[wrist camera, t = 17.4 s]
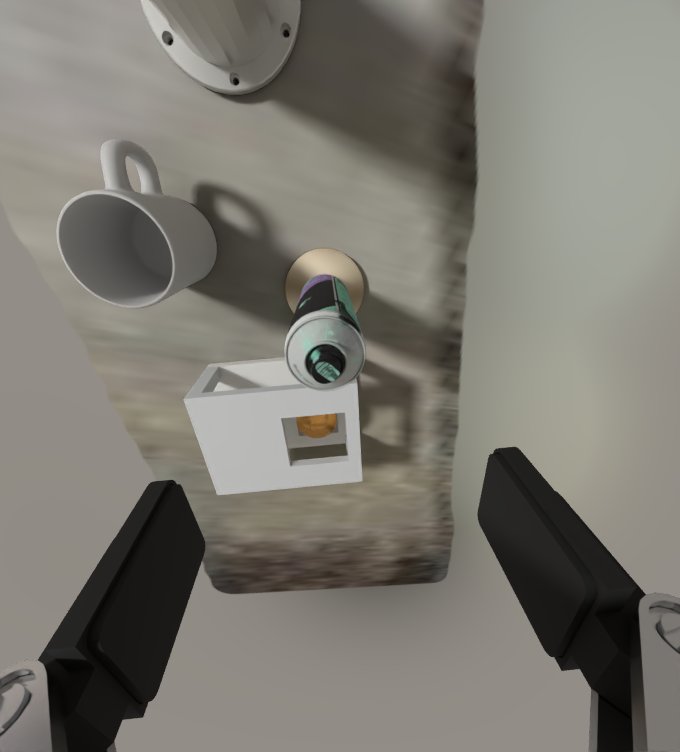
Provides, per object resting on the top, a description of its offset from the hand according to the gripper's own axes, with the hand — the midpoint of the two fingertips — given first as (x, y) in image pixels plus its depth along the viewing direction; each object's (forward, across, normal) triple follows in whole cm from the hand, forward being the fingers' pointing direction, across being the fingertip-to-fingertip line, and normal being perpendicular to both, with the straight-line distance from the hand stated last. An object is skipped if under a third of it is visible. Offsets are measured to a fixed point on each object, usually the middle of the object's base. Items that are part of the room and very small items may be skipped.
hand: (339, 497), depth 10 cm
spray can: (+30, 0, +1) cm, 30 cm away
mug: (+30, +15, -8) cm, 35 cm away
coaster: (+30, 0, 0) cm, 30 cm away
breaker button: (+29, +2, +15) cm, 33 cm away
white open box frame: (+30, +6, +15) cm, 34 cm away
